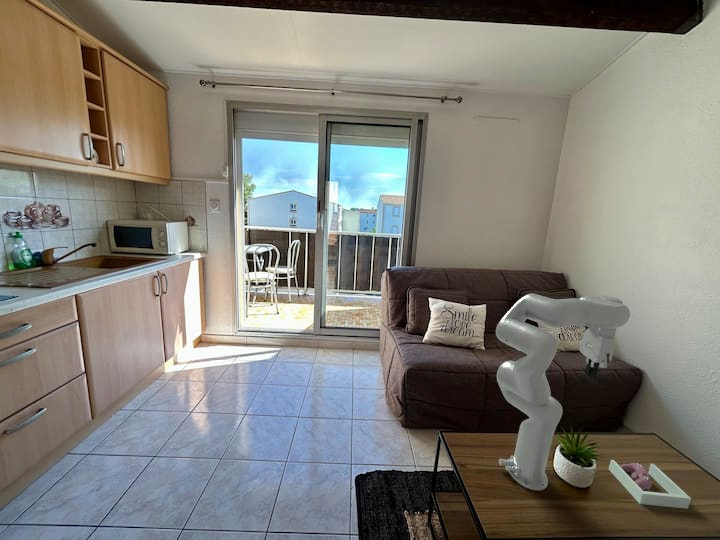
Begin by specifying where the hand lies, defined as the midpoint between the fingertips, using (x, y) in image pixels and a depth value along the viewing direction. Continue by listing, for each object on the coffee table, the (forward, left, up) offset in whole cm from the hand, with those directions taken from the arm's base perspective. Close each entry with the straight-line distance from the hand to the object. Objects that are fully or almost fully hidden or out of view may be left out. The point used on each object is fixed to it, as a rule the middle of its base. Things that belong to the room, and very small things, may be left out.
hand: (590, 375), depth 110 cm
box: (+15, -15, -32) cm, 38 cm away
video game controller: (+13, -13, -32) cm, 37 cm away
